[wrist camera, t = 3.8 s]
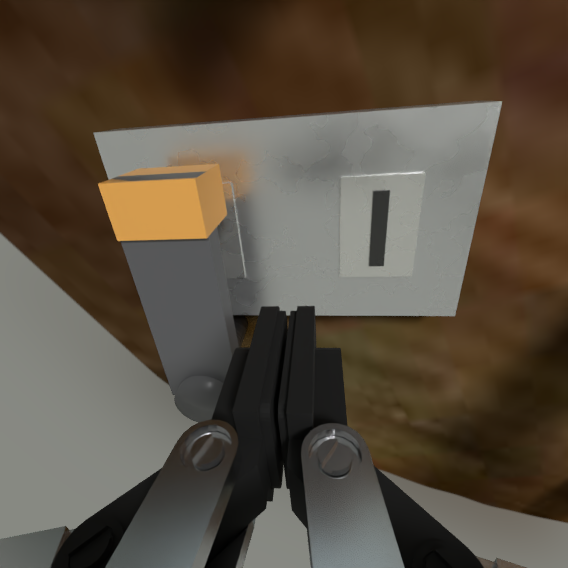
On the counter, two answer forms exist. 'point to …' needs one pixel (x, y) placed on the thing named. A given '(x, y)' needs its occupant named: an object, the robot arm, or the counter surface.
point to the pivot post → (240, 327)
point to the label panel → (336, 202)
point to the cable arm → (179, 273)
